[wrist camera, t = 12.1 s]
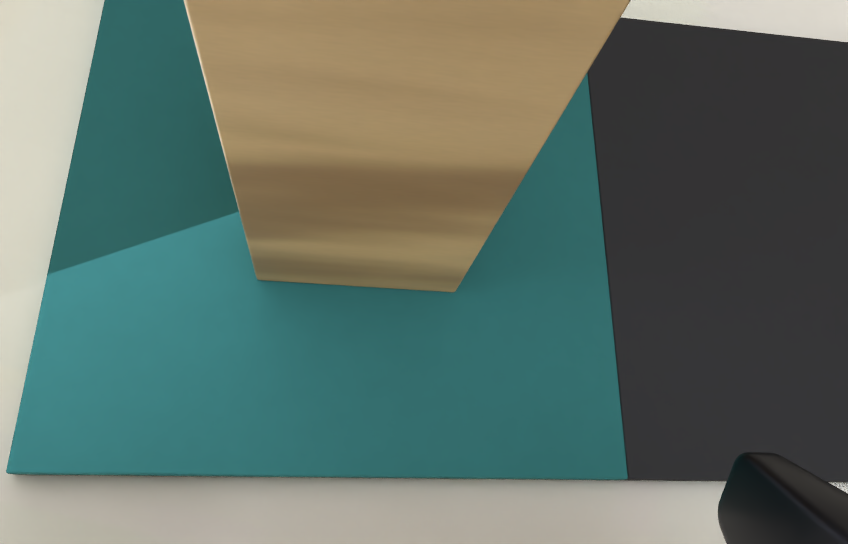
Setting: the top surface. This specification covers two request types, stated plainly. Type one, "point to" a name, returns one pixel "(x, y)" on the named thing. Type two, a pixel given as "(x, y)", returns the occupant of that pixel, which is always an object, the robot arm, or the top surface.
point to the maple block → (386, 124)
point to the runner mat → (464, 287)
